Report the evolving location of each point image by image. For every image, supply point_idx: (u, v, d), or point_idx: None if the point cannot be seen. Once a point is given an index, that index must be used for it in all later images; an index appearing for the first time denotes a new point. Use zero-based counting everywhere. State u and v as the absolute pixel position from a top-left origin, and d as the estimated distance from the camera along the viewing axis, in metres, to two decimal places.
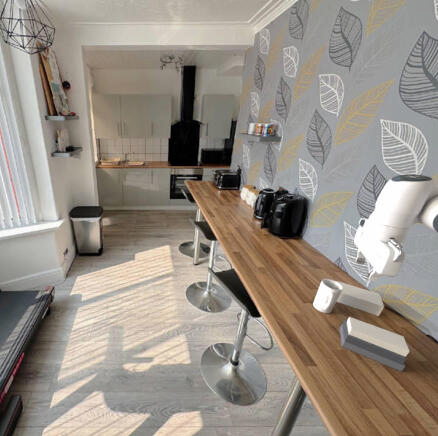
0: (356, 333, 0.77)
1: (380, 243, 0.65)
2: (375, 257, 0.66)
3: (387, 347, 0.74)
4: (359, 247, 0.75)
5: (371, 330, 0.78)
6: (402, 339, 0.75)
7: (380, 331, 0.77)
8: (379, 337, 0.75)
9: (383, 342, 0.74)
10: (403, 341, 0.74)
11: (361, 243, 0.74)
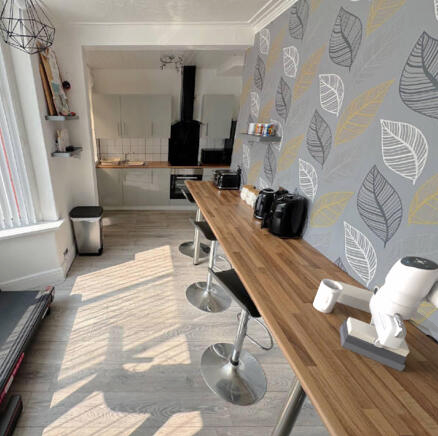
0: (356, 333, 0.77)
1: (386, 316, 0.71)
2: (381, 328, 0.71)
3: None
4: (372, 312, 0.80)
5: (371, 330, 0.78)
6: None
7: None
8: None
9: None
10: (403, 341, 0.74)
11: (373, 309, 0.79)
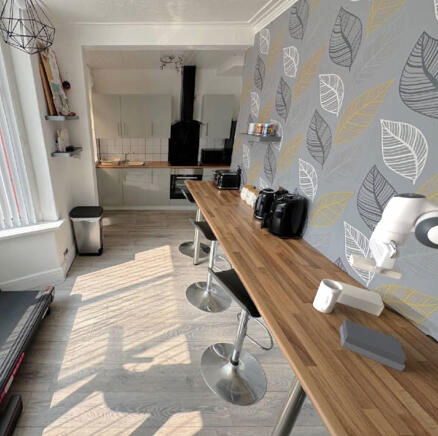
0: (358, 264, 0.91)
1: (383, 244, 0.84)
2: (378, 255, 0.85)
3: (383, 273, 0.88)
4: (371, 248, 0.94)
5: (370, 262, 0.91)
6: (396, 267, 0.89)
7: None
8: None
9: None
10: (397, 268, 0.88)
11: (372, 245, 0.93)
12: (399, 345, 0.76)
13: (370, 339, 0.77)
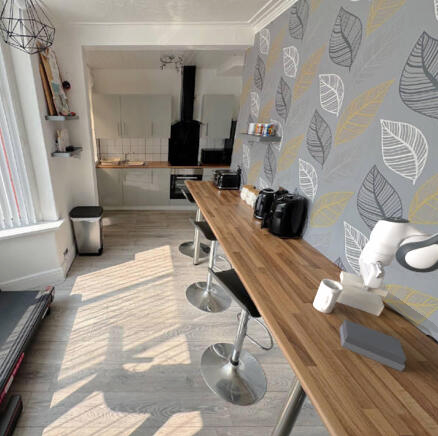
0: (347, 281, 0.97)
1: (370, 264, 0.90)
2: (366, 274, 0.91)
3: (371, 290, 0.93)
4: (360, 266, 0.99)
5: (359, 279, 0.97)
6: (383, 284, 0.94)
7: None
8: None
9: None
10: (384, 286, 0.93)
11: (361, 263, 0.99)
12: (399, 345, 0.76)
13: (370, 339, 0.77)
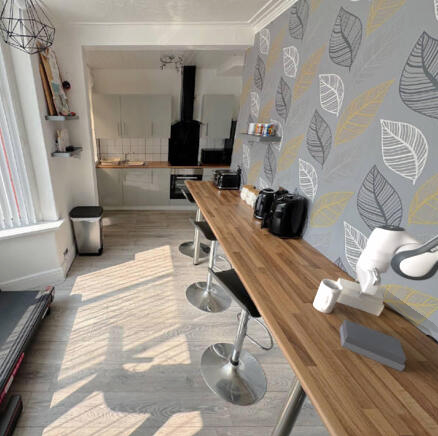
0: (344, 288, 0.98)
1: (367, 271, 0.91)
2: (363, 280, 0.92)
3: (367, 297, 0.95)
4: (357, 272, 1.00)
5: (356, 286, 0.98)
6: (380, 291, 0.96)
7: None
8: (361, 290, 0.96)
9: None
10: (380, 293, 0.95)
11: (358, 270, 1.00)
12: (399, 345, 0.76)
13: (370, 339, 0.77)
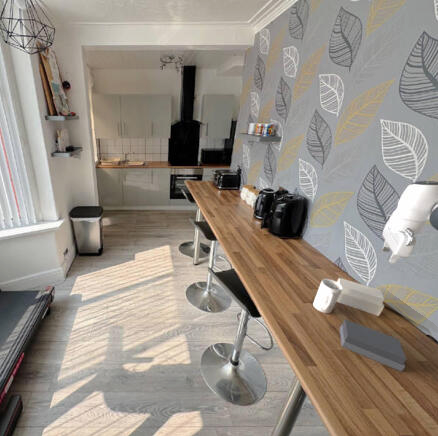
0: (344, 288, 0.98)
1: (399, 232, 0.84)
2: (394, 243, 0.85)
3: (367, 297, 0.95)
4: (385, 238, 0.93)
5: (356, 286, 0.98)
6: (380, 291, 0.96)
7: (363, 287, 0.98)
8: (361, 290, 0.96)
9: (364, 294, 0.95)
10: (380, 293, 0.95)
11: (386, 235, 0.93)
12: (399, 345, 0.76)
13: (370, 339, 0.77)
